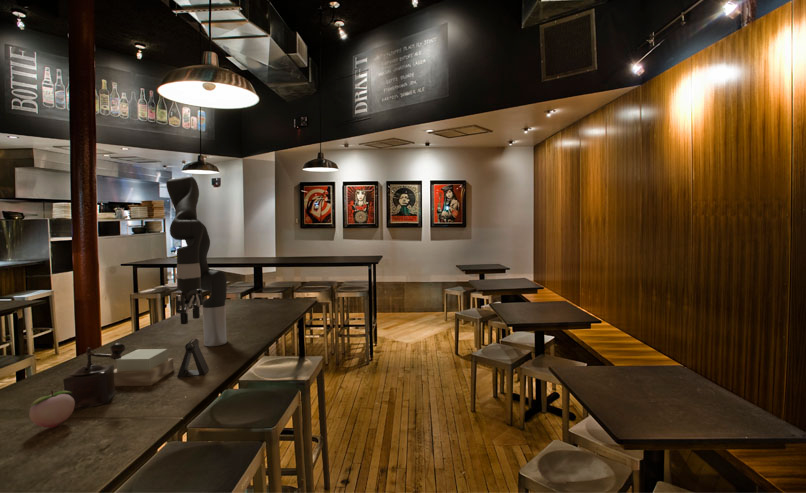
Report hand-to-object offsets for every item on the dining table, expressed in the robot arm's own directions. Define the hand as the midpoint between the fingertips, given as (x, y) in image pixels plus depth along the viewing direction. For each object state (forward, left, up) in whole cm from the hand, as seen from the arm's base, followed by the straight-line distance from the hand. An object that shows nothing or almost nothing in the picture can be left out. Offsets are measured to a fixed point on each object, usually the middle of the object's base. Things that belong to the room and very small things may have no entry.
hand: (190, 321), depth 146 cm
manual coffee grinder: (+21, -18, -19) cm, 34 cm away
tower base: (+3, -16, -20) cm, 25 cm away
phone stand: (0, 0, -19) cm, 19 cm away
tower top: (+3, -15, -15) cm, 22 cm away
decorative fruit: (+38, -18, -19) cm, 46 cm away
